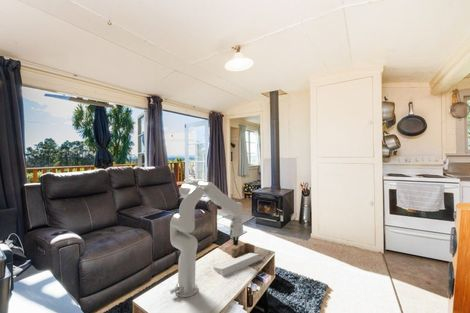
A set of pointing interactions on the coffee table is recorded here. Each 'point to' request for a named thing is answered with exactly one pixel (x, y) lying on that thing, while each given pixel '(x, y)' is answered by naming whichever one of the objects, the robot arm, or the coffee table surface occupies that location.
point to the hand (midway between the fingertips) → (235, 244)
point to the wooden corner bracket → (243, 249)
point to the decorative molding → (236, 264)
